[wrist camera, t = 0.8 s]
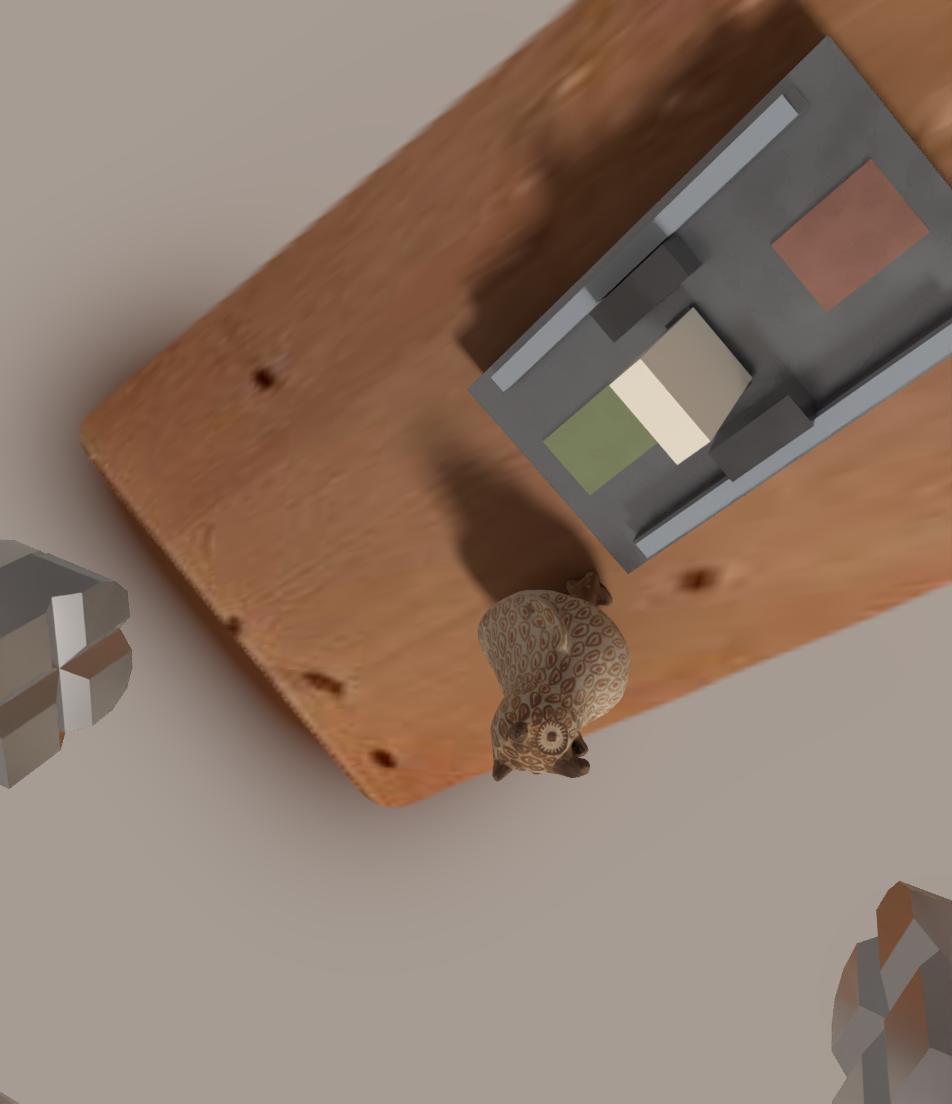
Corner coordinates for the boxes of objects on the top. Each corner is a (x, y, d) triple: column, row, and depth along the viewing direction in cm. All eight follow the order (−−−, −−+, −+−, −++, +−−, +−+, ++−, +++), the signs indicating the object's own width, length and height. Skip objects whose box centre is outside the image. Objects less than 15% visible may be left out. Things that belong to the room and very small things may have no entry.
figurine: (625, 696, 55) (560, 859, 42) (492, 644, 57) (393, 783, 45) (665, 583, 50) (604, 728, 38) (519, 531, 52) (417, 652, 40)
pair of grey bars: (795, 86, 35) (792, 84, 33) (981, 318, 36) (988, 326, 34) (497, 374, 45) (484, 383, 44) (647, 547, 46) (640, 562, 45)
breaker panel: (829, 42, 36) (825, 22, 30) (1024, 286, 37) (1057, 313, 31) (486, 376, 49) (438, 408, 43) (638, 552, 50) (611, 606, 44)
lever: (694, 299, 39) (637, 354, 33) (758, 376, 40) (713, 445, 33) (666, 324, 41) (606, 381, 34) (728, 397, 41) (680, 468, 34)
